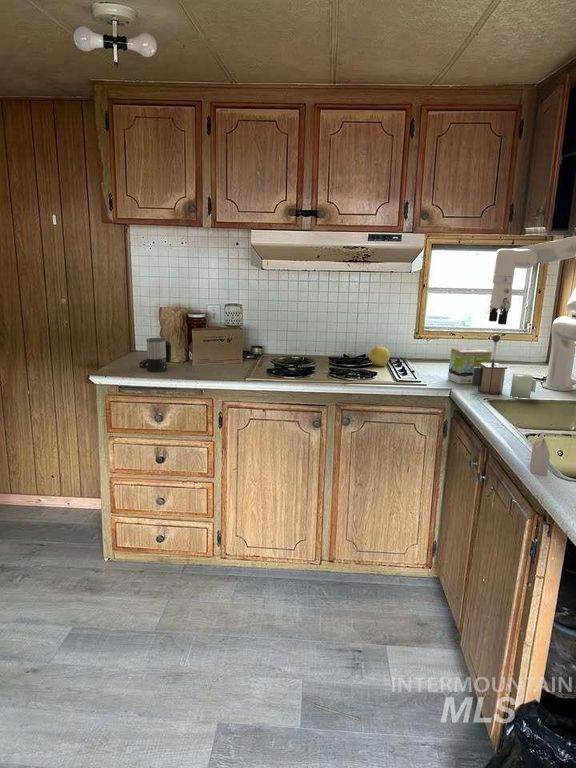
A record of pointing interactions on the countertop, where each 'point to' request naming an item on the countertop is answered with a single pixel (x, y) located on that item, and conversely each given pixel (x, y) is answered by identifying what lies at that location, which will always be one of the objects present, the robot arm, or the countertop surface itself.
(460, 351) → the tea box
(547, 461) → the tea bag
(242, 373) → the countertop surface
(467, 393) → the countertop surface
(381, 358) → the fruit
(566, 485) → the countertop surface
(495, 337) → the plunger
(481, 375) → the brown wooden mug
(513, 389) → the sage mug
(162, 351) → the milk frother
